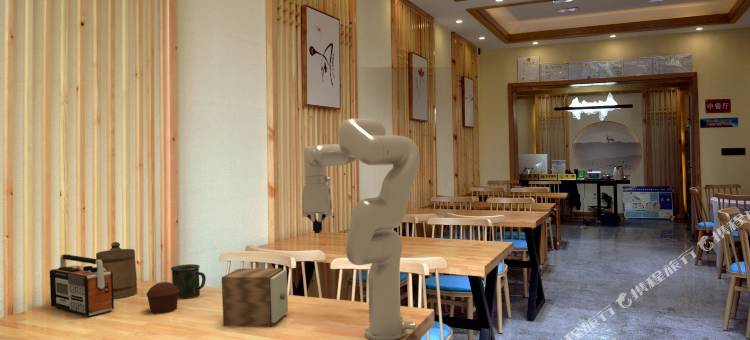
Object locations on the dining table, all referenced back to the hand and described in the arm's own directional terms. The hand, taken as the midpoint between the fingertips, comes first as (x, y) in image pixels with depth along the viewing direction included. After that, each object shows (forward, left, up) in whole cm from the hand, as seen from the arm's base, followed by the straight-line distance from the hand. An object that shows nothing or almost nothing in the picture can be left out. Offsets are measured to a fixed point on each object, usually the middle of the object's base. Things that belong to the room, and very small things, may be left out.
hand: (317, 232), depth 191 cm
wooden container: (+92, -21, -28) cm, 98 cm away
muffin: (+59, +1, -28) cm, 65 cm away
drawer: (+18, +12, -26) cm, 34 cm away
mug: (+59, -19, -28) cm, 68 cm away
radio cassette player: (+91, +2, -28) cm, 95 cm away
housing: (+20, +12, -28) cm, 36 cm away
